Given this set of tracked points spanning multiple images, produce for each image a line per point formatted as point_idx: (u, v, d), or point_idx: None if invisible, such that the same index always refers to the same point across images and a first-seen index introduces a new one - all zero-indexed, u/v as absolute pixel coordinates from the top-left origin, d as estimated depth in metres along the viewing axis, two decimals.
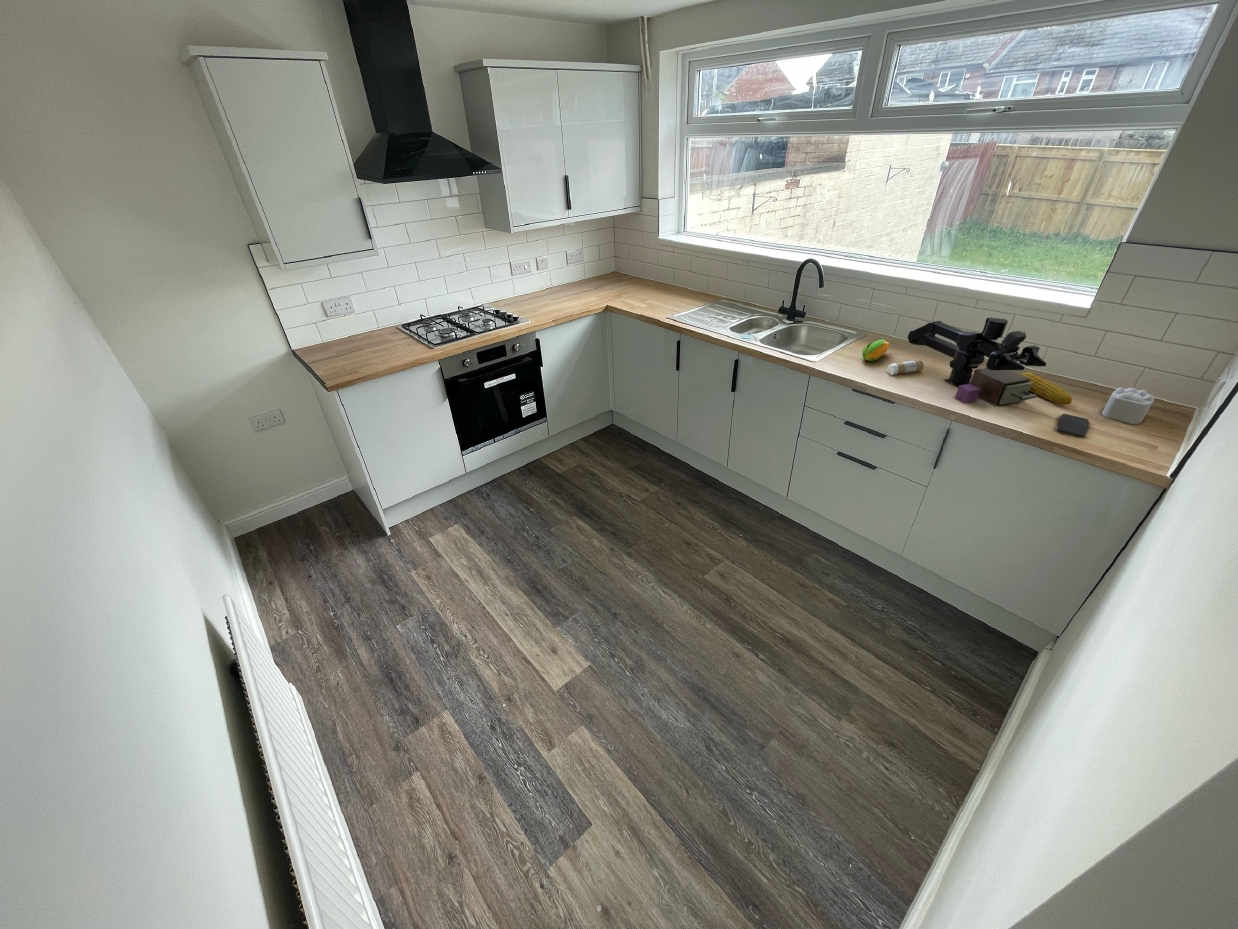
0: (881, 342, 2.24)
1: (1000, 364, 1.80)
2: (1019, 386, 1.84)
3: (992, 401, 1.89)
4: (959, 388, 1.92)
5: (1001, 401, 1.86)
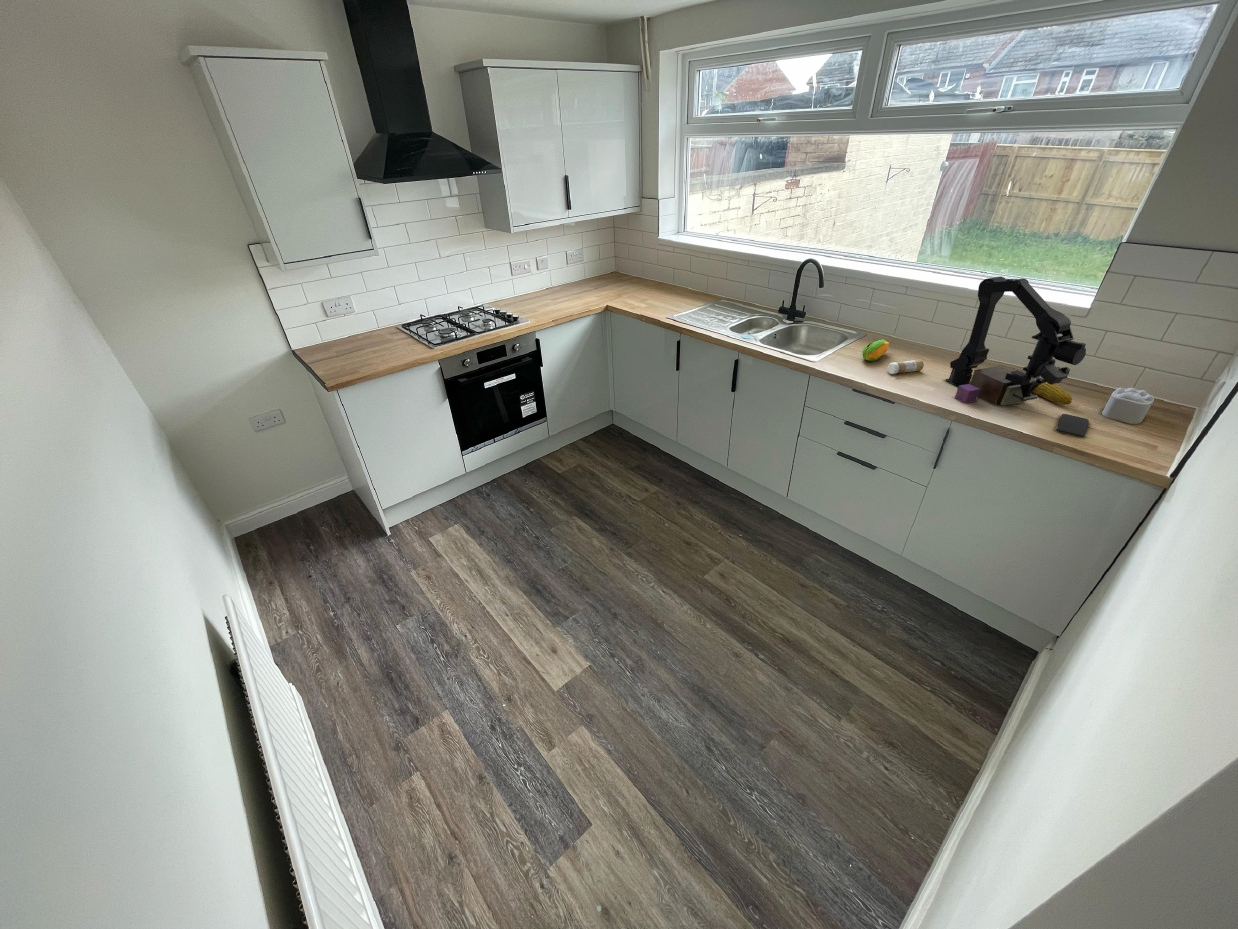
0: (881, 342, 2.24)
1: None
2: None
3: (992, 401, 1.89)
4: (959, 388, 1.92)
5: (1002, 402, 1.86)
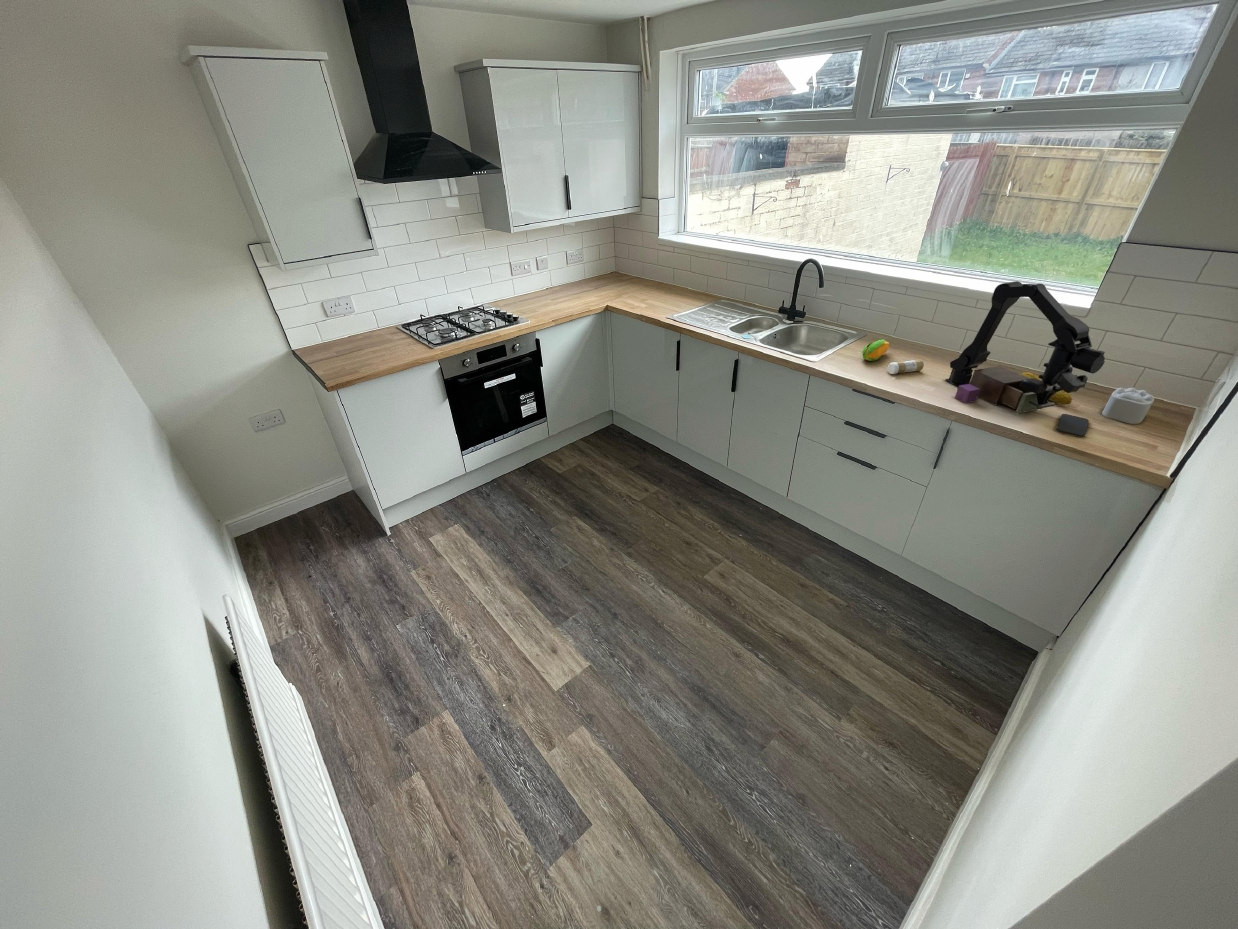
0: (881, 342, 2.24)
1: None
2: None
3: (992, 401, 1.89)
4: (959, 388, 1.92)
5: (1018, 409, 1.81)
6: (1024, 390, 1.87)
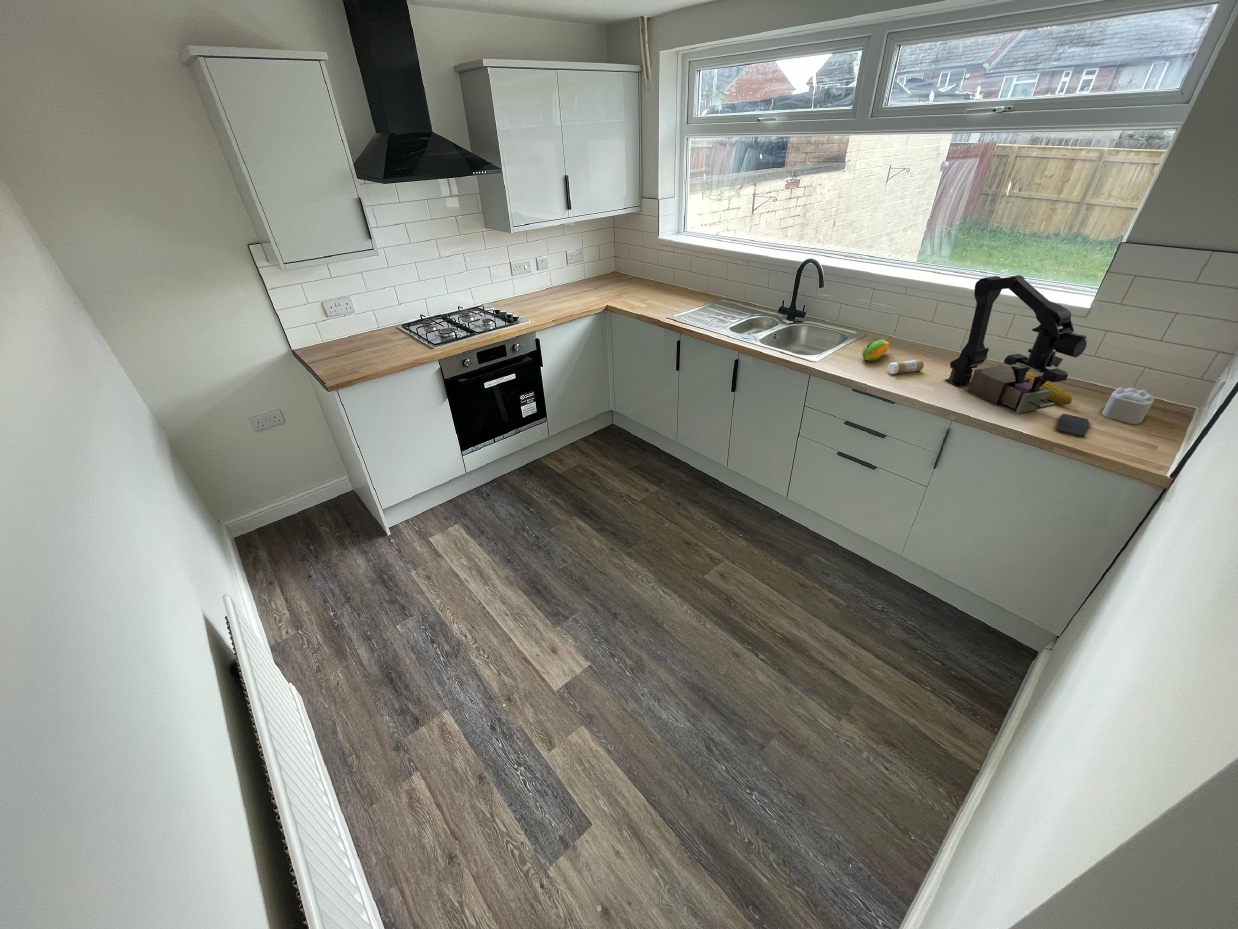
0: (881, 342, 2.24)
1: None
2: (1037, 394, 1.79)
3: (992, 401, 1.89)
4: (1016, 386, 1.83)
5: (1018, 409, 1.81)
6: None
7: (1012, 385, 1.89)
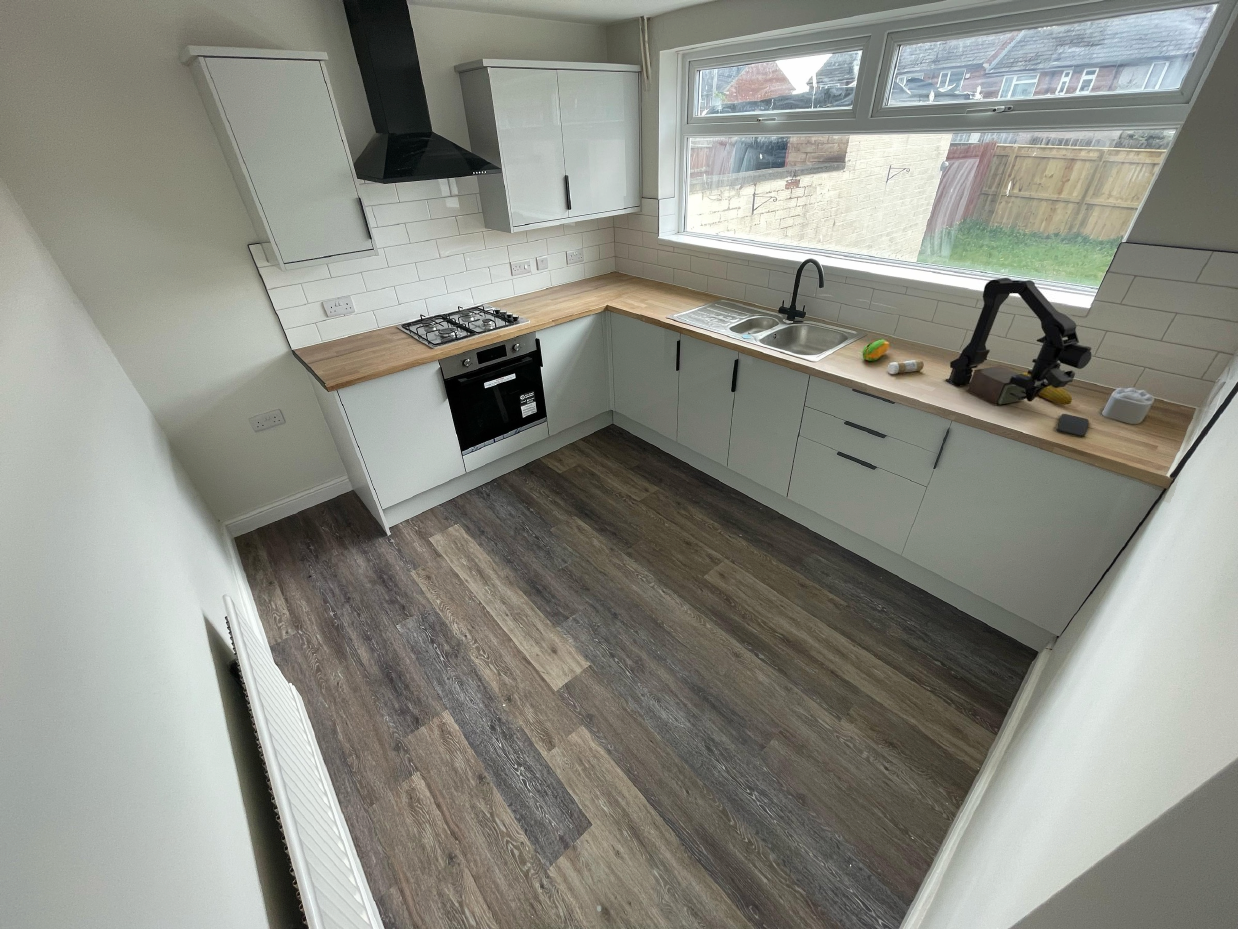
0: (881, 342, 2.24)
1: None
2: None
3: (992, 401, 1.89)
4: None
5: (1000, 400, 1.87)
6: None
7: None
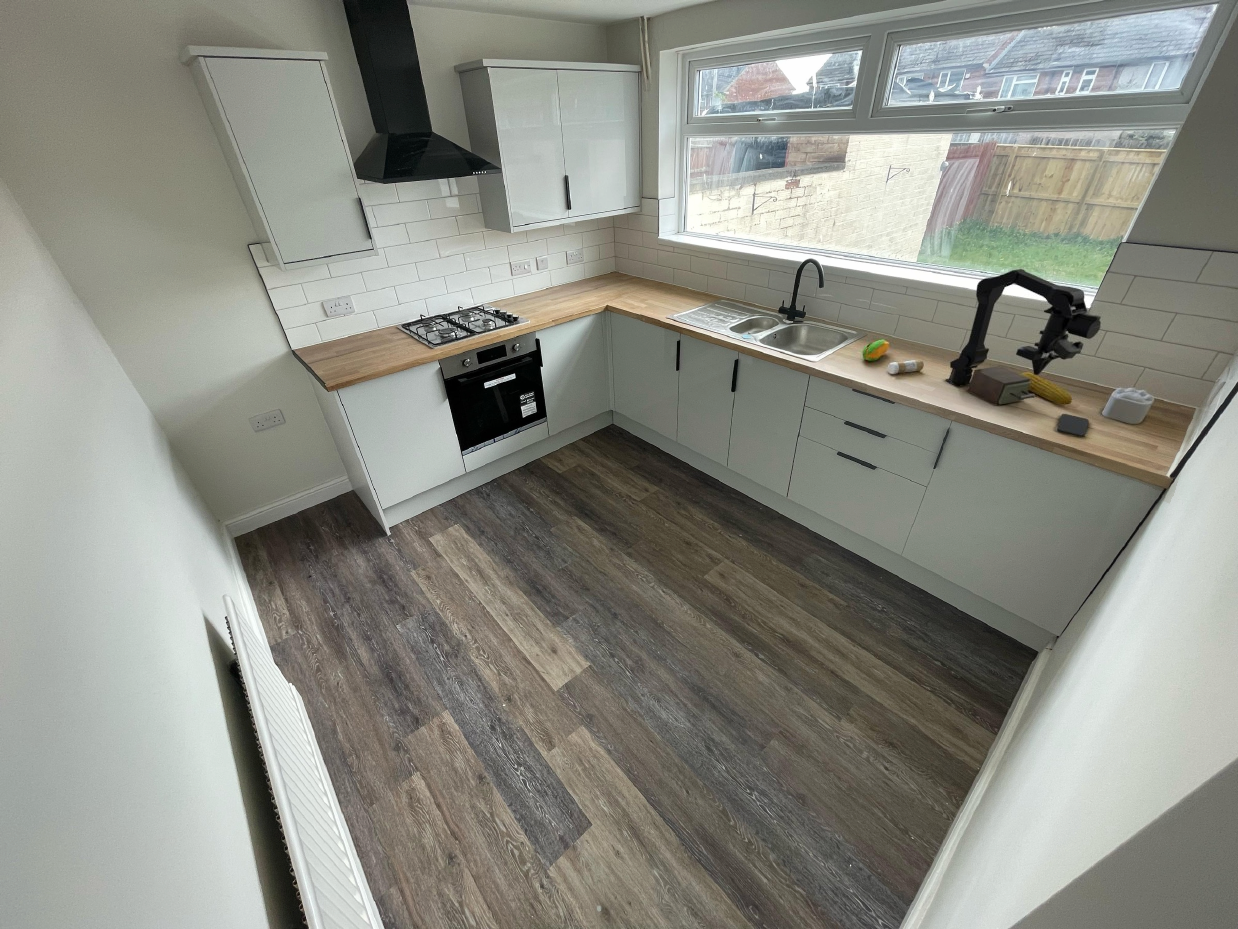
0: (881, 342, 2.24)
1: None
2: (1018, 385, 1.85)
3: (992, 401, 1.89)
4: None
5: (1000, 400, 1.87)
6: None
7: None
